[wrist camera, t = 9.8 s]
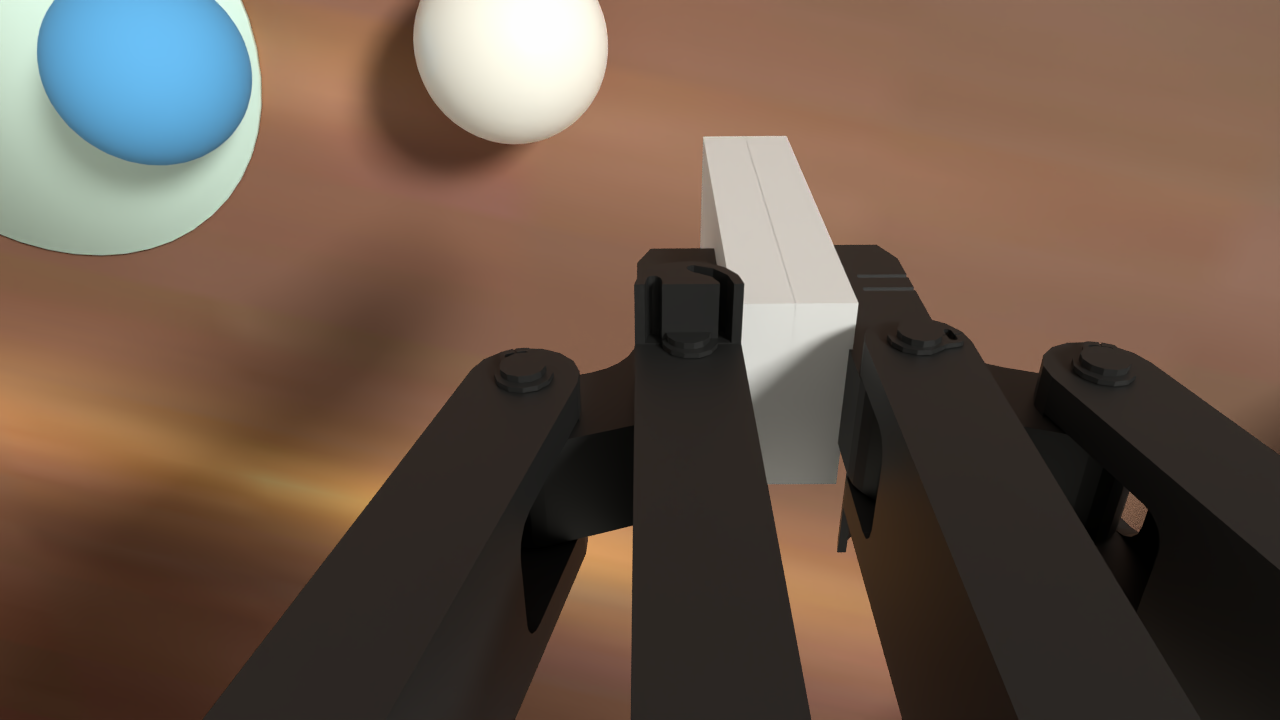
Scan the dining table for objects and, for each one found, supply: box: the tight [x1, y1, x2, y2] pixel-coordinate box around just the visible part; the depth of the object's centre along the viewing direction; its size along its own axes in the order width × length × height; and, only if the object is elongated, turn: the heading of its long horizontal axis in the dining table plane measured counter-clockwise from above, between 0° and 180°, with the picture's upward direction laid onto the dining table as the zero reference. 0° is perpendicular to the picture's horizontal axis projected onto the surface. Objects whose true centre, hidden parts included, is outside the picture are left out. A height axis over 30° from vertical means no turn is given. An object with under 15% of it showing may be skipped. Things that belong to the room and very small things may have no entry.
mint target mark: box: [0, 0, 262, 255], centre depth 29 cm, size 14×14×1 cm
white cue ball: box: [413, 0, 608, 144], centre depth 27 cm, size 6×6×6 cm
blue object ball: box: [37, 0, 252, 165], centre depth 27 cm, size 6×6×6 cm
